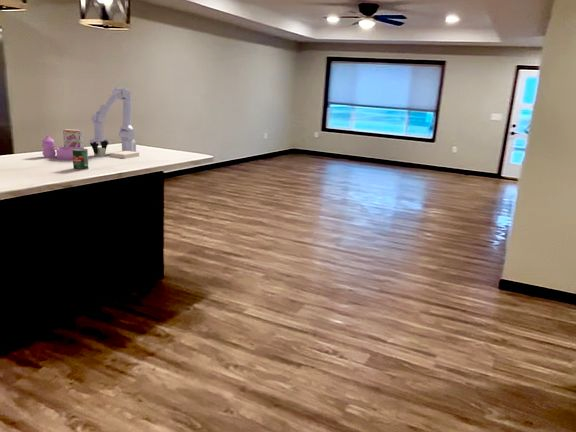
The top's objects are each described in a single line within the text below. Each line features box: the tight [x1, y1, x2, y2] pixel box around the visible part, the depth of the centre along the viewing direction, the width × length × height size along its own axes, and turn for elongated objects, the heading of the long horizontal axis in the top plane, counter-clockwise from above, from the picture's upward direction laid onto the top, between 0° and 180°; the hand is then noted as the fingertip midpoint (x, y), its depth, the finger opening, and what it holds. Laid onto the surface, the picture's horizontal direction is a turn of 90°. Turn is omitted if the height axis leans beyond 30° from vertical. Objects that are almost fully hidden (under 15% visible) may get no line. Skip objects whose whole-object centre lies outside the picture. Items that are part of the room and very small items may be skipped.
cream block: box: [109, 150, 140, 159], centre depth 330 cm, size 14×12×3 cm
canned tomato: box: [72, 148, 89, 171], centre depth 279 cm, size 8×8×11 cm
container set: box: [41, 135, 80, 161], centre depth 310 cm, size 25×15×13 cm, turn 85°
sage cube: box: [93, 146, 107, 157], centre depth 328 cm, size 5×5×5 cm
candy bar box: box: [62, 128, 85, 149], centre depth 322 cm, size 11×5×16 cm, turn 84°
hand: (99, 152), depth 328 cm, fingers open, 7 cm apart
